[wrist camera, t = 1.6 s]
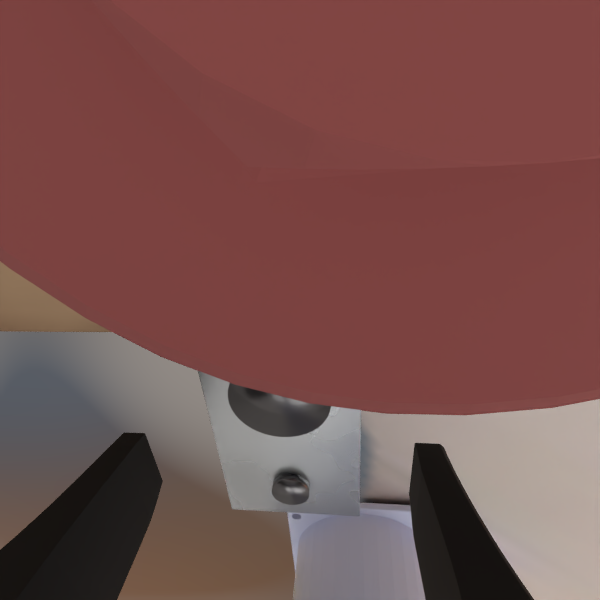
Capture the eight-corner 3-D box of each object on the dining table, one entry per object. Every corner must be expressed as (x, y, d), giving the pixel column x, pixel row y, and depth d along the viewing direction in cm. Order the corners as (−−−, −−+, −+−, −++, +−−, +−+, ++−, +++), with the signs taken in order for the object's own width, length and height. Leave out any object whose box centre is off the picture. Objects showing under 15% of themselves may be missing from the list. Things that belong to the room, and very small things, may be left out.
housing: (356, 398, 19) (360, 524, 14) (260, 396, 19) (230, 517, 14) (357, 230, 15) (363, 324, 10) (235, 233, 15) (180, 324, 10)
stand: (211, 295, 16) (191, 332, 14) (-39, 296, 18) (-92, 330, 16) (138, -71, 11) (86, -100, 9) (-220, -30, 12) (-341, -46, 10)
